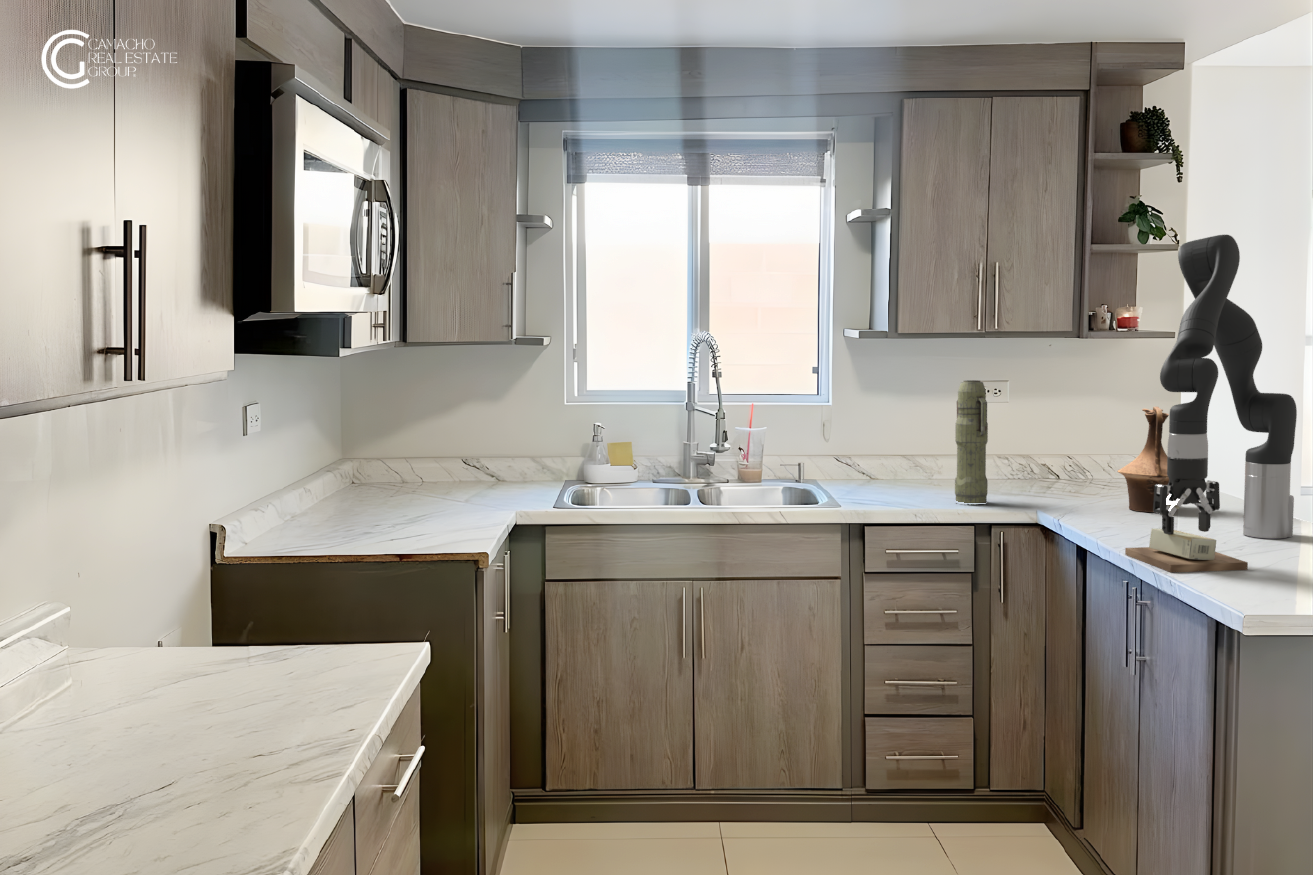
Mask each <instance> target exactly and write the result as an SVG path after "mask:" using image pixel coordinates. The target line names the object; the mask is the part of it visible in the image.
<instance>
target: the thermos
mask: <svg viewBox="0 0 1313 875" xmlns="http://www.w3.org/2000/svg"><path fill="white" fill-rule="evenodd" d="M985 387H986V386H985V384H984V382H983V381H981V380H963V381H961V382H960V384H959V386H958V391H957V400H956V421H955V430H954V431H955V434H954V435H955V437H954V438H955V444H956V476H955V479H954V494H955V500H956V501H958V502H964V503H986V502H987V496H988V489H989V488H988V486H989V485H988V484H989V482H988V481H989V480H988V478H987V473H986V471H987V468H986V467H987V466H986V463H987V461H986V460H987V458H986V457H987V456H986V455H987V451H986V450H987V449H986V448H987V444H988V441H989V438H988V437H989V436H988V435H989V434H988V433H989V432H988V430H989V428H988V425H989V424H988V401H987V399H986V398H987V392H986V388H985ZM987 503H988V502H987Z"/></svg>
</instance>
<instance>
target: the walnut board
mask: <svg viewBox="0 0 1313 875" xmlns="http://www.w3.org/2000/svg"><path fill="white" fill-rule="evenodd" d="M1124 548H1125V549H1124V550H1125V553H1124V555H1125V556H1128V557H1129V558H1133V559H1135V560H1138V561H1141V562H1143V563H1145V564H1148V565H1151V566H1153V567H1156V568H1157V569H1161V570H1163V571H1165V572H1168V573H1191V572H1192V573H1193V572H1217V571H1218V572H1223V571H1248V566H1249V565H1248V564H1249V562H1247V561H1244V560H1243V559H1242V560H1241V559H1239V558H1236V557H1232V556H1230V555H1226V554H1223V553H1221V552H1217V551H1215V557H1214V560H1198V559H1188V558H1184V557H1181V556H1177V555H1173V554H1170V553H1166V552H1162V551H1159V550H1155V549H1151V548H1149V546H1147V547H1146V546H1143V547H1124Z"/></svg>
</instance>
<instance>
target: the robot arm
mask: <svg viewBox="0 0 1313 875" xmlns="http://www.w3.org/2000/svg"><path fill="white" fill-rule="evenodd" d="M1240 255H1241V254H1240V249H1239V245H1238V243H1237V241H1236V239H1235V238H1234V237H1233V236H1232V235H1230V234H1218V235H1213V236H1209V237H1208V236H1207V237H1203V238H1199V239H1194V240H1191V241H1186V242H1185V243H1183V244H1181V245H1180V247H1179V248H1178V253H1177V257H1178V258H1177V259H1178V265H1179V268H1180V271H1181V273H1182V275H1183V279H1184V280H1185V283H1186V285H1187V287H1188V288H1189V290H1190V292H1191V294H1192V297H1193V298H1194V300H1193V301H1192V302H1191V303H1190V305H1189V306H1188V307H1187V309H1186V310H1185V312H1184V313H1183V314H1182V315H1183V316H1182V317H1181V320H1180V325H1179V328H1178V334H1177V338H1176V341H1175V343H1174V346H1173V348H1172V349H1171V350H1170V353H1169V354H1168V355H1167V357H1166V359H1165V361H1164V362H1163V363H1162V364H1163V365H1162V367H1161V370H1160V372H1159V373H1160V374H1159V380H1160V384H1161V386H1162V387H1163V388H1164V389H1165V391H1168V392H1171V393H1196V395H1195V398H1194V399H1193V400H1192V401H1190V402H1184V403H1179V404H1175V405H1172V406H1171V407H1170V409H1169V416H1168V418H1169V422H1168V424H1169V425H1168V426H1169V427H1168V429H1169V430H1168V432H1169V433H1168V439H1167V453H1166V455H1167V476H1168V477H1169V483H1168V485H1161V484H1156V485H1155V488H1154V503H1153V512H1152V513H1154V514H1155V513H1156V514H1159V515H1160V516H1161V529H1162V530H1163V531H1164V533H1165V534H1168V535H1173V534H1174V530H1175V517H1174V514H1175V513H1176V512H1177V510H1178V509H1181V507H1182V506H1183V505H1184V506H1187V505H1189V504H1190V505H1191V504H1192V505H1195V506H1196V508H1197V510H1198V526H1197V528H1198V531H1200V532H1204V533H1205V532H1209V531H1210V529H1211V518H1212V517H1211V514H1213V512H1214V511H1219V510H1220V508H1221V502H1220V498H1221V497H1220V482H1218V481H1216V480H1215V481H1214V480H1206V479H1207V478H1208V474H1209V473H1208V464H1209V440H1208V415H1209V414H1208V413H1209V406H1210V404H1211V400H1212V395H1213V393H1214V390H1215V387H1216V384H1217V382H1218V378H1219V368H1218V366H1217V364H1216V362H1215V360H1213V359H1211V358H1208V357H1207V356H1209V355H1210V354H1211V353H1212V351H1213V350H1214V348H1215V351H1216V355H1217V356H1218V358H1219V361H1220V362H1221V366H1222V368H1223V370H1224V373H1225V377H1226V378H1227V381H1228V385H1229V388H1230V392H1231V396H1232V400H1233V403H1234V407H1235V411H1236V415H1237V418H1238V420H1239V423H1240V424H1241V425H1242V427H1243V428H1244V429H1245V430H1246V431H1248V432H1253V433H1264V434H1265V433H1266V434H1268V435H1267V439H1266V441H1265V442H1263V444H1262V443H1261V445H1258V446H1254V447H1251V448H1248V449H1247V450H1246V452H1245V460H1244V461H1245V462H1244V463H1245V464H1244V465H1245V466H1244V495H1243V496H1244V497H1243V498H1244V499H1243V526H1242V529H1243V530H1242V531H1243V533H1242V534H1243V535H1244V536H1247V537H1252V538H1259V539H1286V538H1293V535H1294V508H1295V507H1294V505H1295V503H1294V502H1295V497H1294V495H1291V469H1292V456H1293V452H1294V448H1295V439H1296V438H1295V437H1296V428H1297V415H1298V414H1297V413H1298V411H1297V404H1296V401H1295V399H1294V397H1293V396H1292V395H1291V394H1287V393H1277V392H1276V393H1274V392H1260V390H1259V389H1258V388H1257V385H1256V382H1255V378H1254V372H1255V370H1256V367H1257V365H1258V363H1259V361H1260V358H1261V356H1262V352H1263V341H1262V338H1261V334H1260V333H1259V329H1258V327H1257V324H1256V322H1255V320H1254V318H1253V317H1252V316H1251V315H1250V314H1249V313H1248V312H1247V311H1246V310H1245V309H1244V308H1242V307H1240V306H1239V305H1237V304H1236V303H1234V302H1233V301H1231V300H1230V299H1228V296H1229V294H1230V292H1231V289H1232V286H1233V284H1234V282H1235V278H1236V275H1237V273H1238V270H1239V267H1240V266H1239V265H1240V261H1241V260H1240V259H1241V257H1240ZM1169 493H1170V494H1169ZM1167 494H1169V496H1168V497H1167ZM1173 500H1174V501H1173Z"/></svg>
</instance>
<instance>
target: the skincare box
mask: <svg viewBox="0 0 1313 875" xmlns="http://www.w3.org/2000/svg"><path fill="white" fill-rule="evenodd" d="M1216 545H1217V539H1214V538H1209V537H1205V536H1201V535H1197V534H1193V533H1190V532H1189V533H1188V532H1185V531H1182V530H1181V531H1180V530H1176V529H1174V534H1173V535H1168V534H1165V533H1164V531H1163V530H1162V528H1151V530H1150V537H1149V546H1148V547H1149V548H1151V549H1155V550H1159V551H1162V552H1166V553H1170V554H1173V555H1177V556H1181V557H1184V558H1188V559H1198V560H1214V557H1215V552H1216V547H1217V546H1216Z"/></svg>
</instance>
